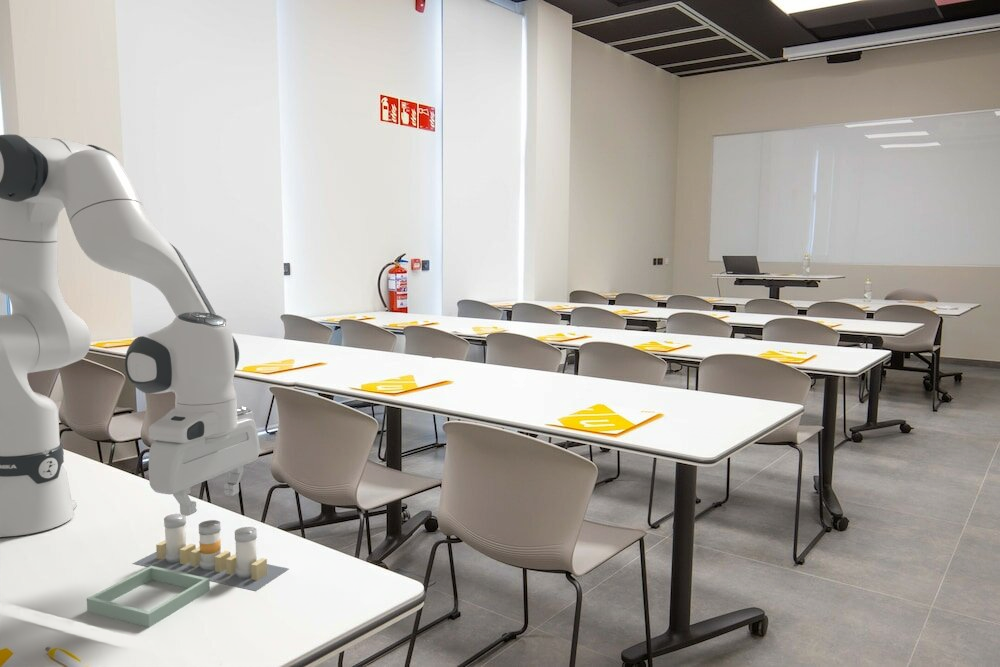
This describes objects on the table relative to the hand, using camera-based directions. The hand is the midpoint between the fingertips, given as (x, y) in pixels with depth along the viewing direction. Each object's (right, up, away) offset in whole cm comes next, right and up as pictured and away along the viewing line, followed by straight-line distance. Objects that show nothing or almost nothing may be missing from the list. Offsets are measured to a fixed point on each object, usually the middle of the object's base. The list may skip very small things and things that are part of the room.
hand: (210, 503), depth 113 cm
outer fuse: (+6, -11, -1) cm, 12 cm away
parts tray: (-5, -13, -10) cm, 17 cm away
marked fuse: (-1, -10, +1) cm, 10 cm away
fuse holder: (-1, -12, +2) cm, 12 cm away
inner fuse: (-7, -10, +4) cm, 13 cm away
